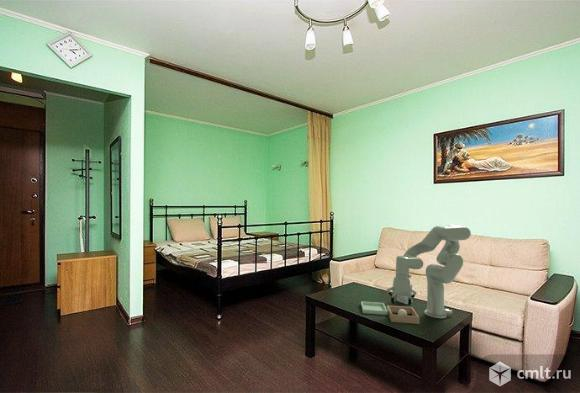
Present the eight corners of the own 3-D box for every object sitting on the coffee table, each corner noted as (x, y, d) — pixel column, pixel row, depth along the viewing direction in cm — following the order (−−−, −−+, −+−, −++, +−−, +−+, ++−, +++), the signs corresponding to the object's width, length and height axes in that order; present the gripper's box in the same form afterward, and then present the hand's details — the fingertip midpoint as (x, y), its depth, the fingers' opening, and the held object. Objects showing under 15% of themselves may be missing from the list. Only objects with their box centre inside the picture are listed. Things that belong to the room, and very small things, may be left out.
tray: (383, 306, 189) (383, 302, 189) (387, 315, 174) (387, 311, 174) (361, 304, 191) (361, 301, 191) (362, 313, 176) (363, 309, 177)
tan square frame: (412, 313, 177) (412, 307, 178) (419, 323, 162) (419, 317, 162) (386, 311, 180) (386, 305, 180) (391, 321, 165) (391, 314, 165)
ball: (405, 316, 173) (405, 308, 173) (407, 319, 168) (407, 311, 168) (397, 315, 174) (397, 307, 174) (398, 318, 169) (399, 310, 169)
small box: (412, 303, 196) (412, 284, 197) (406, 304, 193) (406, 285, 194) (402, 299, 203) (402, 281, 204) (397, 301, 200) (397, 282, 201)
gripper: (415, 276, 174) (414, 303, 173) (386, 273, 177) (385, 300, 176) (418, 279, 166) (417, 308, 166) (388, 276, 169) (387, 304, 169)
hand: (401, 304), depth 171 cm, fingers open, 9 cm apart
